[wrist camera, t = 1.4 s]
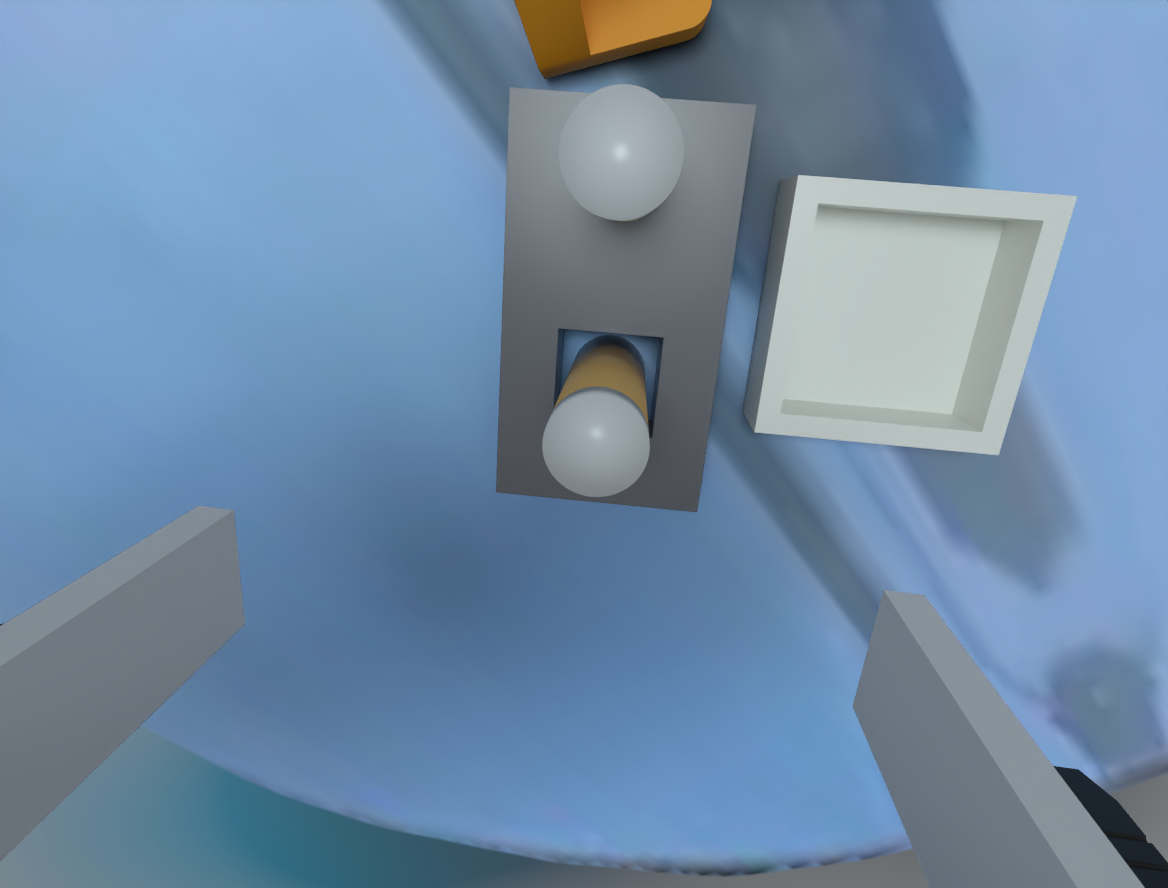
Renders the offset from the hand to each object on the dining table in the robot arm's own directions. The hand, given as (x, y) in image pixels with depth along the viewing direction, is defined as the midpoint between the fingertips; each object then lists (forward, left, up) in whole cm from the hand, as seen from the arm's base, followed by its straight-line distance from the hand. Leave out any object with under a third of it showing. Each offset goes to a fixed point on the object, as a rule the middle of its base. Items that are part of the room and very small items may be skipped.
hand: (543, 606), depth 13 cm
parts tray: (+13, +4, -21) cm, 25 cm away
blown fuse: (+1, 0, -21) cm, 21 cm away
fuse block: (+1, +3, -21) cm, 21 cm away
